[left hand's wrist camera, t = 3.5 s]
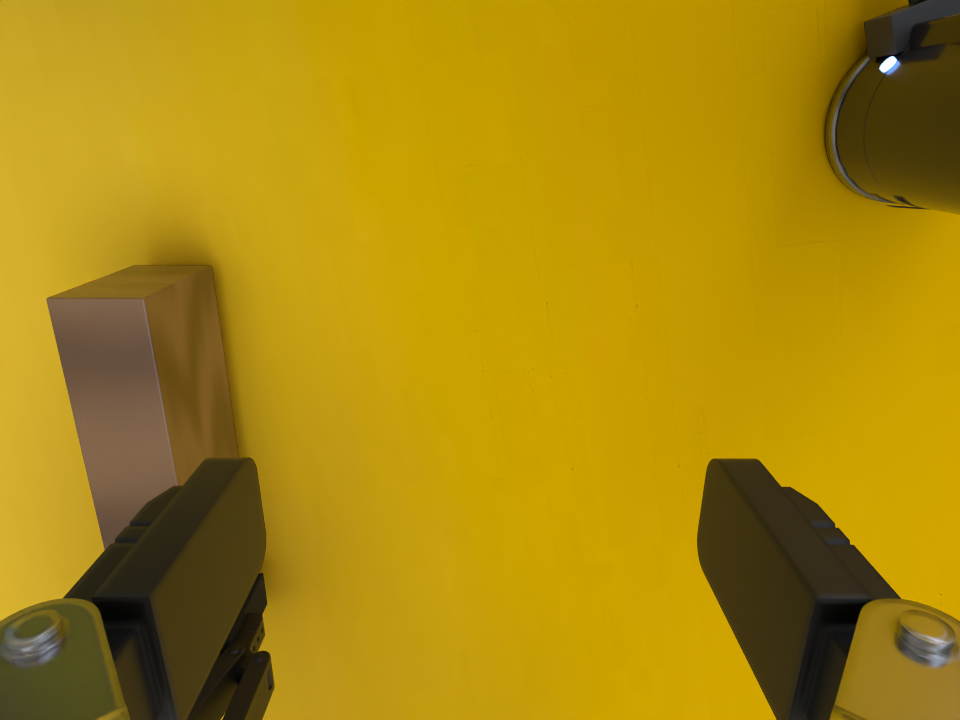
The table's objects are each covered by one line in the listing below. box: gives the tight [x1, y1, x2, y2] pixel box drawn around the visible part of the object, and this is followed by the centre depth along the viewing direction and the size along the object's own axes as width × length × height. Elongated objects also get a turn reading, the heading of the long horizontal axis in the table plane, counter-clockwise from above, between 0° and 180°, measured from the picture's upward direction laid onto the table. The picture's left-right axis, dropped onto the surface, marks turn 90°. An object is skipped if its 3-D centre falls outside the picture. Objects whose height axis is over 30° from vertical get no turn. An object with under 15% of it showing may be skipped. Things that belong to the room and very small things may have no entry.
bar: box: [47, 265, 239, 660], centre depth 40 cm, size 27×5×8 cm, turn 0°
